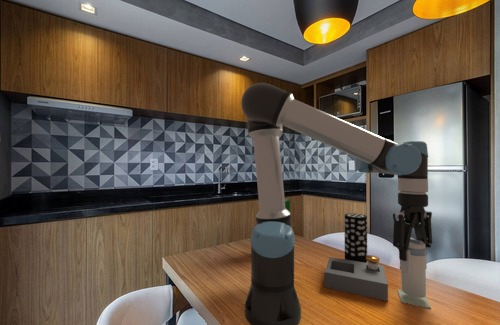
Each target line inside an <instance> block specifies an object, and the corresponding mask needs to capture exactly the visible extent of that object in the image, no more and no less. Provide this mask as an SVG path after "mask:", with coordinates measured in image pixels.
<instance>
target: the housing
mask: <svg viewBox="0 0 500 325" xmlns="http://www.w3.org/2000/svg"><path fill="white" fill-rule="evenodd" d="M324 288H326V289H332V290H336V291H340V292H345V293H349V294H354V295H358V296H363V297H367V298H372V299H377V300H381V301H386V302H388V301H389V284H388V279H387V276H386V270H385V266H384V265H382V264H378V272H377V271H371V270H368V262H367V263H364V262H358V261H351V260H345V258H338V257H333V256H329V258H328V261H327V264H326V266H325V270H324Z"/></svg>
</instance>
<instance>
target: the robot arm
mask: <svg viewBox="0 0 500 325" xmlns="http://www.w3.org/2000/svg"><path fill="white" fill-rule="evenodd" d="M240 104H241V106H240V107H241V109H242V113H243V114H244V116H245V117H246V125H247V133H248V136H249V137H251V139H252V140H253V149H254V150H253V152H254V160H255V163H254V164H255V172H256V184H257V195H258V196H257V197H258V206H259V210H258V212H256V214H255V223H256V225H255V226H254V227H253V228H252V229H251V235H250V246H251V247H250V249H251V251H250V254H251V255H250V256H251V257H250V259H251V260H250V261H251V263H250V265H251V266H250V268H251V270H250V273H251V274H250V275H251V276H250V278H251V279H250V282H251V283H250V286H249V290H248V293H247V296H246V299H245V303H244V316H245V318H246V321H247V322H248V323H249V324H250V325H299V324H300V322H301V319H302V308H301V304H300V300H299V297H298V294H297V290H296V288H295V245H296V244H295V243H296V238H295V233H294V230H293V225H292V216H291V215H292V214H291V211H290V212H289V211H288V210H287V209H286V208H285V199H286V197H285V190H284V178H283V177H284V176H283V167H282V157H281V145H280V135H281V134H282V133H283V132H284V130H283V126H284V127H286V128H288V129H291V130H293V131H295V132H297V133H300V134H302V135H304V136H305V137H308V138H311V139H313V140H315V141H317V142H320V143H322V144H324V145H327V146H328V147H331V148H333V149H335V150H338V151H340V152H342V153H344V154H347V155H349V156H352V157H353V158H355V159H354V160H355V162H354V163H355V168H356V170H357V172H359V173H365V174H371V173H372V174H387V175H395V176H397V190H398V191H399V192H397V204H398V205H400V211H399V212H398V213H395V212H394V213H392V218H393V237H392V238H393V240H392V241H393V242H392V246H393V247H395V248H398V255H399V256H398V258H399V269H400V270H403V271H405V272H407V273H411V261H410V250H408V247H409V242H410V238H412V231H413V230H414V233H415V239H417V240H420V241H423V242H424V243H425V247H426V257H428V255H427V254H428V253H427V252H428V250H427V248H428V249H430V248H432V244H433V233H432V232H433V231H432V229H433V228H432V215H433V212H432V211H428V210H426V209H425V208H427V207H428V206H429V195H428V192H429V178H428V175H429V173H428V171H429V169H428V167H429V164H428V162H429V153H428V144H427V143H426V142H425V141H423V140H411V141H410V140H407V141H399V142H398V143H397V142H395V141H392V140H391V139H387V138H385V137H382V136H380V135H377V134H375V133H373V132H371V131H368V130H366V129H365V128H362V127H359V126H358V125H355V124H354V123H353V124H352V123H351V122H348V121H345V120H343V119H341V118H339V117H336V116H334V115H332V114H330V113H327V112H326V111H322V110H320V109H318V108H316V107H313V106H312V105H309V104H306V103H305V102H302V101H300V100H297V99H295V97H294V95H293V93H291V92H290V91H289V92H288V91H286V90H285V89H282V88H280V87H277V86H275V85H272V84H269V83H267V82H256V83H254V84H252V85H250V86H249V87H247V88H246V89H245V91H244V92H243V94H242V96H241V102H240ZM427 264H428V263H426V270H427V267H428V266H427Z"/></svg>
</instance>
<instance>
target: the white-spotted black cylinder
mask: <svg viewBox="0 0 500 325" xmlns="http://www.w3.org/2000/svg"><path fill="white" fill-rule="evenodd" d="M367 255H368V216H367V215H366V214H361V213H355V212H354V213H351V212H349V213H344V259H345V260H351V261H358V262H364V263H368V261H367V260H366V256H367Z"/></svg>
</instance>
